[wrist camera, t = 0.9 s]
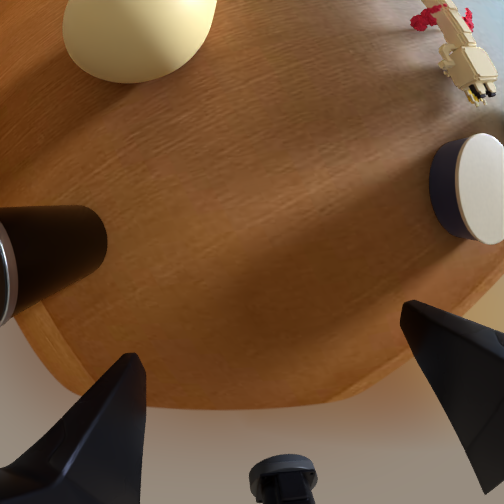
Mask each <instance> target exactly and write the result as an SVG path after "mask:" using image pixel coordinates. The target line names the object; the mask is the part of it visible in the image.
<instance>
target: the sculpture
mask: <svg viewBox="0 0 504 504" xmlns="http://www.w3.org/2000/svg"><path fill="white" fill-rule="evenodd" d="M216 2H217V0H69V1H68V3H67V6H66V9H65V13H64V18H63V38H64V43H65V46H66V49H67V51H68V53H69V55H70V57H71V58H72V60H73V61H74V62H75V63H76V64H77V65H78V66H79V67H80V68H81V69H82V70H84V71H85V72H87V73H88V74H90V75H92V76H94V77H97V78H99V79H102V80H106V81H110V82H116V83H140V82H146V81H150V80H154V79H157V78H160V77H163V76H165V75H168V74H170V73H172V72H173V71H175V70H177V69H178V68H180V67H181V66H183V65H184V64H185V63H186V62H187V61H189V60H190V59H191V58H192V57H193V55H194V54H195V53H196V52H197V51H198V49H199V48H200V47H201V45H202V44H203V42H204V40H205V39H206V37H207V34H208V32H209V30H210V27H211V24H212V20H213V15H214V11H215V7H216Z"/></svg>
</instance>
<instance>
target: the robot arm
mask: <svg viewBox="0 0 504 504" xmlns="http://www.w3.org/2000/svg"><path fill="white" fill-rule="evenodd" d="M400 327H401V329H402V331H403V333H404V335H405V337H406V340H407V342H408V344H409V346H410V348H411V350H412V352H413V355H414V357H415V359H416V360H417V363H418V364H419V366H420V368H421V369H422V371H423V373H424V375H425V376H426V378H427V380H428V382H429V383H430V385H431V387H432V389H433V390H434V392H435V394H436V395H437V397H438V399H439V401H440V403H441V405H442V407H443V408H444V410H445V412H446V414H447V416H448V418H449V420H450V422H451V424H452V426H453V427H454V430H455V431H456V434H457V435H458V437H459V440H460V442H461V444H462V446H463V447H464V450H465V452H466V454H467V456H468V459H469V461H470V463H471V465H472V467H473V469H474V472H475V474H476V476H477V478H478V481H479V483H480V485H481V488H482V490H483V492H484V494H485V495H486V494H487V493H489V492H490V491H491V490H493V489H494V488H495V487H497V486H498V485H499V484H500V483H502V482H503V481H504V333H502V332H499V331H496V330H494V329H491V328H489V327H486V326H483V325H481V324H478V323H476V322H473V321H470V320H468V319H465V318H462V317H460V316H457V315H454V314H452V313H449V312H446V311H444V310H441V309H438V308H435V307H433V306H430V305H427V304H425V303H422V302H419V301H417V300H410V301H407V302H405V303H404V304H403V306H402V312H401V318H400ZM145 423H146V372H145V369H144V367H143V365H142V363H141V361H140V359H139V357H138V355H137V354H136V353H125V354H123V355H122V356H121V357H120V358H119V359H118V360H117V361H116V362H115V363H114V364H113V365H112V366H111V367H110V368H109V369H108V370H107V371H106V372H105V373H104V374H103V375H102V376H101V377H100V378H99V379H98V381H97V382H96V383H95V384H94V385H93V386H92V387H91V388H90V389H89V390H88V391H87V392H86V393H85V394H84V395H83V396H82V397H81V398H80V399H79V400H78V401H77V402H76V403H75V404H74V405H73V406H72V407H71V408H70V409H69V410H68V412H67V413H65V415H64V416H63V417H62V418H61V419H60V420H59V421H58V422H57V423H56V424H55V425H54V426H53V427H52V428H51V429H50V430H49V431H48V432H47V433H46V434H45V435H44V436H43V437H42V438H41V439H39V440H38V441H37V442H36V443H35V444H34V445H33V446H32V447H30V448H29V449H28V450H27V451H26V452H25V453H24V454H22V455H21V456H20V457H19V458H18V459H16V460H15V461H14V462H13V463H11V464H10V465H8V466H6V467H3V468H0V504H140V488H141V470H142V469H141V468H142V456H143V444H144V433H145ZM315 474H316V471H315V469H307V470H298V471H288V472H275V473H262V474H260V475H259V479H258V487H257V494H256V502H257V503H263V504H315V501H314V498H313V495H312V492H311V486H312V483H313V480H314V477H315Z"/></svg>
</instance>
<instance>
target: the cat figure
mask: <svg viewBox="0 0 504 504" xmlns="http://www.w3.org/2000/svg"><path fill="white" fill-rule="evenodd" d="M421 1H422V2H423V3H424V4H425V6H426V7H427V9H424V10H423V11H422V12H421V13H420V14H421V15H416V16H413V18H412V19H411V20H410V21H411V24H410V25H411V27H413V28H414V29H416V30H417V31H424V30H425V29H426V28H427V26H426V25H429V24H430V26H433V25H436V24H437V25H438V26H439V28H440V29H441V31H442V32H443V34H444V38H445V40H446V42H447V43H448V44H443V45H442V46H441V47H440V48H439V53H440V54H441V56H442V58H443V59H444V60H442V61H441V62H439V63H438V65H439V67H440V68H441V69H443V70H447V71H448V73H449V74H448V73H447V71H445V72H443V73H444V75H447V77H451V78H452V80H453V82H454V84H455V86H456V87H458V88H459V89H461V90H462V91H463V90H464V92H465V94H466V96H467V98H468V100H469V102H470V101H471V103H472V104H474V103H475V105H476V107H478V106H479V104H478V102H479V100H478V99H480V101H483V103H484V105H487V102H486V100H483V98H484V97H486V96H485V94H486V95H488V97H493V96H495V95H496V94H495V93H496V87H495V85H494V83H493V82H494V81H496V80H497V77H498V75H497V73H498V72H497V70H496V68H495V67H494V65H493V63H492V61H491V59H490V58H489V56H488V54H487V52H486V51H484V50H483V49H481V48H480V47H476V41H475V40H474V38H473V37H472V32H473V30H472V29H473V28H474V26H473V25H474V24H473V23H472V20H471V19H472V13H471V11H470V10H469V9H468V8H465V9H466V11H467V12H466V13H465V14H466V17H461V16H460V14H459V13H458V10H457V9H458V8H457V7H456V6H455V5H454V3H453V2H452V1H451V0H421ZM451 51H453V53H452V54H450V52H451ZM449 54H450V55H449Z"/></svg>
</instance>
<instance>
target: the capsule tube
mask: <svg viewBox="0 0 504 504" xmlns="http://www.w3.org/2000/svg"><path fill="white" fill-rule="evenodd" d="M106 251H107V234H106V230H105V227H104V224H103V222H102V221H101V219H100V218H99V216H98V215H97V214H96V213H95V212H94V211H93V210H91V209H90V208H88V207H85V206H81V205H60V206H24V207H1V208H0V327H1V326H2V325H4V324H5V323H6V322H7V321H8V320H9V319H10V318H12V317H13V316H15V315H17V314H18V313H20V312H22V311H24V310H25V309H27V308H29V307H31V306H32V305H34V304H36V303H38V302H39V301H41V300H43V299H45V298H46V297H48V296H50V295H52V294H54V293H55V292H57V291H59V290H61V289H63V288H65V287H66V286H68V285H70V284H72V283H74V282H76V281H78V280H79V279H81V278H83V277H85V276H87V275H89V274H91V273H93V272H94V271H95V270H97V269H98V268H99V266H100V265H101V264H102V262H103V260H104V258H105V255H106Z"/></svg>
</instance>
